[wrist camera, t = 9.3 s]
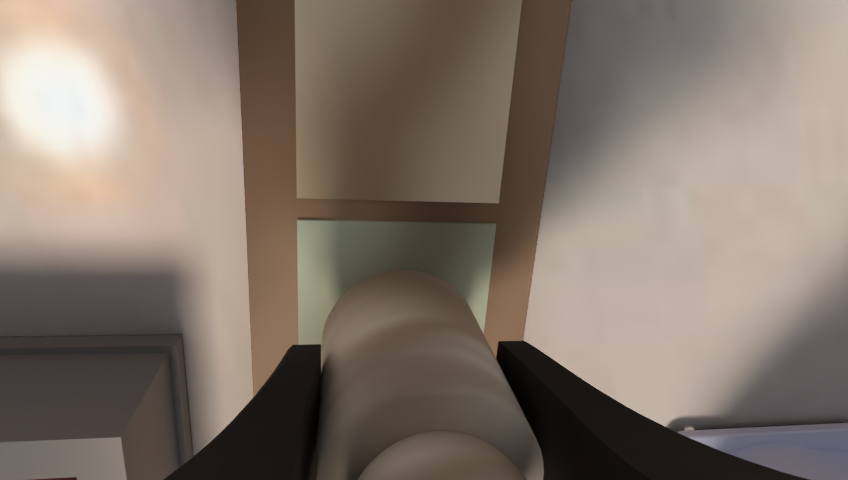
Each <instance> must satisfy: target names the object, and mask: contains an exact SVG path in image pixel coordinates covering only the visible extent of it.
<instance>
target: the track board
mask: <svg viewBox="0 0 848 480" xmlns="http://www.w3.org/2000/svg"><path fill="white" fill-rule="evenodd" d="M236 1H237V25H238V48H239V71H240V94H241V117H242V140H243V164H244V187H245V210H246V233H247V256H248V279H249V303H250V326H251V349H252V372H253V395H254V396H255V395H256V394H257V392H258V391H259V390H260V389H261V387H262V386H263V385H264V383H265V382H266V381H267V380H268V378H269V377H270V376H271V374H272V373H273V372H274V370H275V369H276V367H277V366H278V364H279V363H280V361H281V360H282V358H283V357H284V355H285V353H286V351H287V350H288V349H289V348H290V347H291V346H292V345H309V344H321V350H322V336H323V330H324V326H325V323H326V320H327V318H328V315H329V314H330V312H331V310H332V308H333V307H334V305H335V304H336V303H337V301H338V300H339V299H340V298H341V297H342V296H343V295H344V294H345V293H346V292H347V291H348V290H349V289H351V288H352V287H353V286H355V285H356V284H358V283H360V282H361V281H363V280H365V279H367V278H369V277H372V276H374V275H377V274H381V273H384V272H390V271H397V270H412V271H419V272H424V273H428V274H431V275H434V276H436V277H438V278H441V279H443V280H444V281H446V282H448V283H449V284H451V285H452V286H453V287H454V288H455V289H457V290H458V291H459V292H460V294H461V295H462V296H463V297H464V298H465V300H466V301H467V303H468V305H469V306H470V308H471V310H472V312H473V314H474V316H475V318H476V320H477V322H478V324H479V326H480V328H481V330H482V332H483V334H484V336H485V338H486V340H487V342H488V344H489V346H490V348H491V350H492V352H493V354H494V356H495V358H496V356H497V348H498V341H523V337H524V330H525V323H526V316H527V309H528V302H529V295H530V288H531V281H532V274H533V267H534V260H535V253H536V246H537V239H538V232H539V225H540V218H541V211H542V204H543V197H544V190H545V183H546V176H547V169H548V162H549V155H550V147H551V140H552V133H553V126H554V119H555V112H556V105H557V98H558V91H559V84H560V77H561V70H562V63H563V56H564V49H565V42H566V35H567V28H568V21H569V14H570V7H571V0H236Z"/></svg>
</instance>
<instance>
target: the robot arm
mask: <svg viewBox="0 0 848 480" xmlns="http://www.w3.org/2000/svg"><path fill="white" fill-rule="evenodd" d="M496 360H497V362H498V364H499V366H500V368H501V370H502V372H503V374H504V376H505V378H506V380H507V382H508V384H509V386H510V388H511V390H512V391H513V393H514V395H515V397H516V399H517V401H518V403H519V405H520V407H521V409H522V411H523V413H524V415H525V417H526V419H527V421H528V423H529V425H530V427H531V429H532V431H533V433H534V435H535V437H536V439H537V442H538V444H539V446H540V449H541V453H542V457H543V466H544V476H543V480H848V423H834V424H813V425H792V426H772V427H751V428H731V429H710V430H689V431H678V432H675V431H673V430H670V429H668V428H666V427H664V426H662V425H660V424H658V423H656V422H654V421H652V420H650V419H648V418H646V417H644V416H642V415H640V414H639V413H637V412H635V411H633V410H631V409H629V408H628V407H626V406H624V405H623V404H621V403H619V402H617V401H616V400H614V399H612V398H611V397H609V396H607V395H606V394H604V393H602V392H601V391H599V390H598V389H596V388H594V387H593V386H591V385H590V384H588V383H587V382H585V381H584V380H582V379H581V378H579V377H578V376H576V375H575V374H573V373H572V372H570V371H569V370H567V369H566V368H564V367H563V366H561V365H560V364H559V363H557V362H556V361H554V360H553V359H551V358H550V357H548V356H547V355H545V354H544V353H543V352H541V351H540V350H538V349H537V348H535V347H533V346H532V345H530V344H528V343H527V342H525V341H498V348H497V356H496ZM320 381H321V344H309V345H292V346H291V347H290V348H289V349H288V350H287V351H286V353H285V355H284V357H283V358H282V360H281V361H280V363H279V364H278V366H277V367H276V369H275V370H274V372H273V373H272V374H271V376H270V377H269V378H268V380H267V381H266V382H265V383H264V385H263V386H262V387H261V389H260V390H259V391H258V392H257V394H256V395H255V396H254V397H253V399H252V400H251V401H250V402H249V403H248V404H247V405H246V406H245V408H244V409H243V410H242V411H241V412H240V413H239V414H238V415H237V416H236V417H235V419H234V420H233V421H232V422H231V423H230V424H229V425H228V426H227V427H226V428H225V429H224V430H223V431H222V432H221V433H220V434H219V435H218V436H217V437H216V438H214V439H213V440H212V441H211V442H210V443H209V444H208V445H207V446H206V447H204V448H203V449H202V450H201V451H200V452H199V453H198V454H196V455H195V456H194V457H193V458H191V459H190V460H189V461H187V462H186V463H185V464H183V465H182V466H181V467H179V468H178V469H177V470H175V471H174V472H173V473H171V474H170V475H169V476H168V477H166V478H165V479H164V480H314V473H315V456H316V438H317V422H318V408H319V399H320Z"/></svg>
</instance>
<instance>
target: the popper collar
mask: <svg viewBox="0 0 848 480" xmlns="http://www.w3.org/2000/svg"><path fill="white" fill-rule="evenodd" d="M191 458H193V453H192V442H191V431H190V420H189V409H188V398H187V387H186V375H185V364H184V353H183V342H182V335H120V336H49V337H0V480H32V479H50V478H69V477H77V480H164V479H165V478H166V477H168V476H169V475H170V474H171V473H173V472H174V471H175V470H177V469H178V468H179V467H181V466H182V465H183V464H185V463H186V462H187V461H189V460H190V459H191Z"/></svg>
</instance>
